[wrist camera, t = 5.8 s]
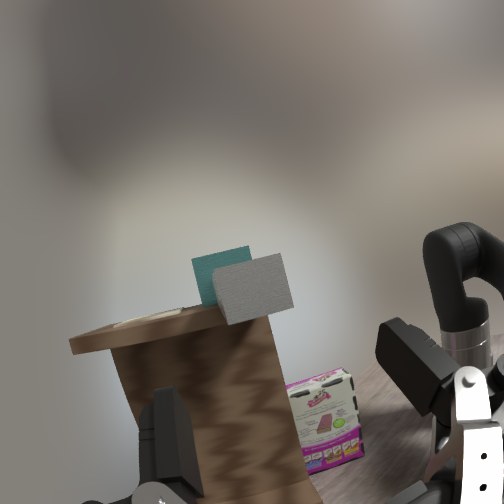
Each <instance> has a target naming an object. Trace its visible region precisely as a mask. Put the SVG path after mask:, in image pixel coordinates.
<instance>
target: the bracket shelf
mask: <svg viewBox="0 0 504 504" xmlns="http://www.w3.org/2000/svg"><path fill="white" fill-rule="evenodd" d="M69 342H70V346H71V349H72V353H73V355H76V354H82V353H88V352H94V351H100V350H105V349H110V350H111V353H112V357H113V360H114V363H115V366H116V369H117V372H118V375H119V378H120V381H121V384H122V387H123V389H124V392H125V395H126V398H127V400H128V403H129V405H130V408H131V411H132V413H133V415H134V418H135V420H136V423H137V425H138V428H139V416H140V414H141V412H142V409H143V407H144V405H150V404H154V390H155V389H158V388H164V387H169V386H175V387H176V389H177V390H178V392H179V394H180V396H181V398H182V400H183V402H184V404H185V406H186V407H187V409H188V412H189V414H190V418H191V422H192V428H193V435H194V441H195V448H196V454H197V459H198V465H199V471H200V476H201V481H202V486H203V491H204V496H205V498H198V499H196V500H197V504H323V500H322V499H321V497H320V496H319V494H318V492H317V491H316V489H315V488H314V486H313V484H312V483H311V481H310V479H309V476H308V472H307V468H306V464H305V460H304V456H303V452H302V448H301V445H300V441H299V437H298V433H297V429H296V425H295V421H294V417H293V413H292V409H291V405H290V401H289V397H288V393H287V389H286V386H285V382H284V378H283V374H282V370H281V366H280V362H279V358H278V354H277V350H276V346H275V342H274V338H273V334H272V330H271V327H270V322H269V319H268V315H265V316H262V317H258V318H254V319H251V320H247V321H243V322H239V323H235V324H232V325H228V323H227V321H226V319H225V318H224V316H223V314H222V312H221V310H220V308H219V306H218V304H215V305H211V306H207V307H203V305H202V304H200V305H196V306H192V307H188V308H184V307H182V308H178V309H174V310H169V311H165V312H161V313H156V314H152V315H147V316H143V317H138V318H133V319H130V320H127V321H125V322H120V323H116V324H111V325H107V326H105V327H102V328H99V329H96V330H93V331H91V332H88V333H85V334H82V335H79V336H76V337H73V338H71V339H69Z"/></svg>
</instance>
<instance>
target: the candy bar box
mask: <svg viewBox="0 0 504 504" xmlns="http://www.w3.org/2000/svg"><path fill="white" fill-rule="evenodd" d="M286 389H287V393H288V397H289V401H290V405H291V409H292V413H293V417H294V421H295V425H296V429H297V433H298V437H299V441H300V445H301V448H302V452H303V456H304V460H305V464H306V468H307V472H308V476H309V475H312V474H315V473H318V472H321V471H324V470H327V469H330V468H333V467H336V466H338V465H341V464H344V463H346V462H349V461H351V460H354V459H356V458H359V457H361V456H363V455H365V454H364V445H363V439H362V432H361V425H360V420H359V413H358V407H357V401H356V396H355V390H354V384H353V379H352V375H351V374H349V373H347V372H346V371H345V370H344V369H343V368H338V369H336V370H333V371H330V372H327V373H324V374H321V375H318V376H315V377H312V378H309V379H306V380H303V381H300V382H296V383H293V384H290V385H287V386H286Z"/></svg>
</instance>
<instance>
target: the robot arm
mask: <svg viewBox="0 0 504 504" xmlns="http://www.w3.org/2000/svg"><path fill="white" fill-rule="evenodd" d="M423 259H424V265H425V269H426V273H427V276H428V281H429V285H430V289H431V293H432V298H433V302H434V308H435V311H436V314H437V316H438V319H439V323H440V332H441V341H442V348H441V347H440V346H439V345H437V344H436V342H435V341H434V340H433V339H430V337H429V336H428V335H427V334H426V333H425V332H424V331H423V330H422V329H420V328H417V327H415V326H413V325H411V324H410V325H407V324H406V323H405V322H404V321H402V320H401V319H400V318H398V317H396V318H393V319H391V320H389V321H386V322H384V323H382V324H380V326H379V332H378V338H377V345H376V350H375V353H376V358H377V361H378V363H379V364H380V366H381V367H382V368H383V369H384V370H385V372H386V373H387V374H388V375H389V376H390V378H391V379H392V380H393V381H394V383H395V384H396V385H397V386H398V387H399V389H400V390H401V391H402V392H403V394H404V395H405V396H406V397H407V399H408V400H409V401H410V402H411V403H412V405H413V406H414V407H415V408H416V410H417V411H418V412H419V413H420V415H421V416H422V417H424V416H425V415H427V414H428V413H430V412H432V413H433V414H434V416H433V420H432V441H431V454H430V460H429V463H428V465H427V467H426V470H425V474H424V480H423V482H422V480H419V481H418V482H416V483H415V484H413V485H411V486H410V487H408V488H406V489H405V490H403V491H401V492H400V493H398V494H396V495H395V496H394V497H393V498H391V499H390V500H389V501H388V502H387V503H386V504H504V489H502V488H503V454H502V450H503V451H504V354H502V355H501V356H500V357H499V358H498V360H497V362H496V364H495V365H494V366H493V354H492V353H491V348H490V328H489V314H488V305H487V303H486V301H485V300H484V299H482V298H475V297H467V296H466V293H465V290H464V286H463V281H465V280H468V279H470V278H472V277H478V278H481V279H483V280H485V281H487V282H488V283H490V284H491V285H492V286H494V287H495V288H496V289H497V290H498V291H499V292H500V293H501V295H502V297H503V300H504V243H503V242H502V241H501V240H499V239H498V238H496V237H495V236H493V235H492V234H490V233H488V232H487V231H486V230H484V229H482V228H481V227H479V226H477V225H475V224H473V223H468V222H461V223H457V224H454V225H450V226H447V227H444V228H441V229H438V230H435V231H432V232H430V233H429V234H428V235H427V236H426V237H425V239H424V242H423ZM139 467H140V469H139V470H140V481H139V485H138V487H137V488H136V490H135V491H134V493H133V494H132V495H131V496H129V497H127V498H125V499H122V500H119V501H116V502H113V503H109V504H197V500H196V499H198V498H205V496H204V491H203V486H202V481H201V476H200V471H199V465H198V459H197V454H196V448H195V441H194V435H193V428H192V422H191V418H190V414H189V412H188V409H187V407H186V406H185V404H184V402H183V400H182V398H181V396H180V394H179V392H178V390H177V389H176V387H175V386H169V387H164V388H158V389H155V390H154V404H150V405H144V407H143V409H142V412H141V414H140V416H139ZM82 504H103V503H101V502H98V501H93V500H92V501H86V502H84V503H82Z"/></svg>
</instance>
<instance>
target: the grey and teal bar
mask: <svg viewBox="0 0 504 504" xmlns="http://www.w3.org/2000/svg"><path fill="white" fill-rule="evenodd" d="M192 264H193V268H194V272H195V277H196V281H197V285H198V288H199V293H200V297H201V301H202V305H203V307H207V306H211V305H215V304H218V306H219V308H220V310H221V312H222V314H223V316H224V318H225V319H226V321H227V323H228V325H232V324H235V323H239V322H243V321H247V320H251V319H254V318H258V317H262V316H265V315H269V314H273V313H276V312H280V311H283V310H286V309H290V308H293V307H294V305H293V301H292V297H291V293H290V289H289V286H288V281H287V277H286V273H285V269H284V265H283V261H282V258H281V254H280V253H278V254H274V255H270V256H266V257H262V258H258V259H254V260H252V258H251V254H250V250H249V246H244V247H240V248H236V249H232V250H227V251H223V252H219V253H215V254H210V255H206V256H202V257H198V258H194V259H192Z"/></svg>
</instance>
